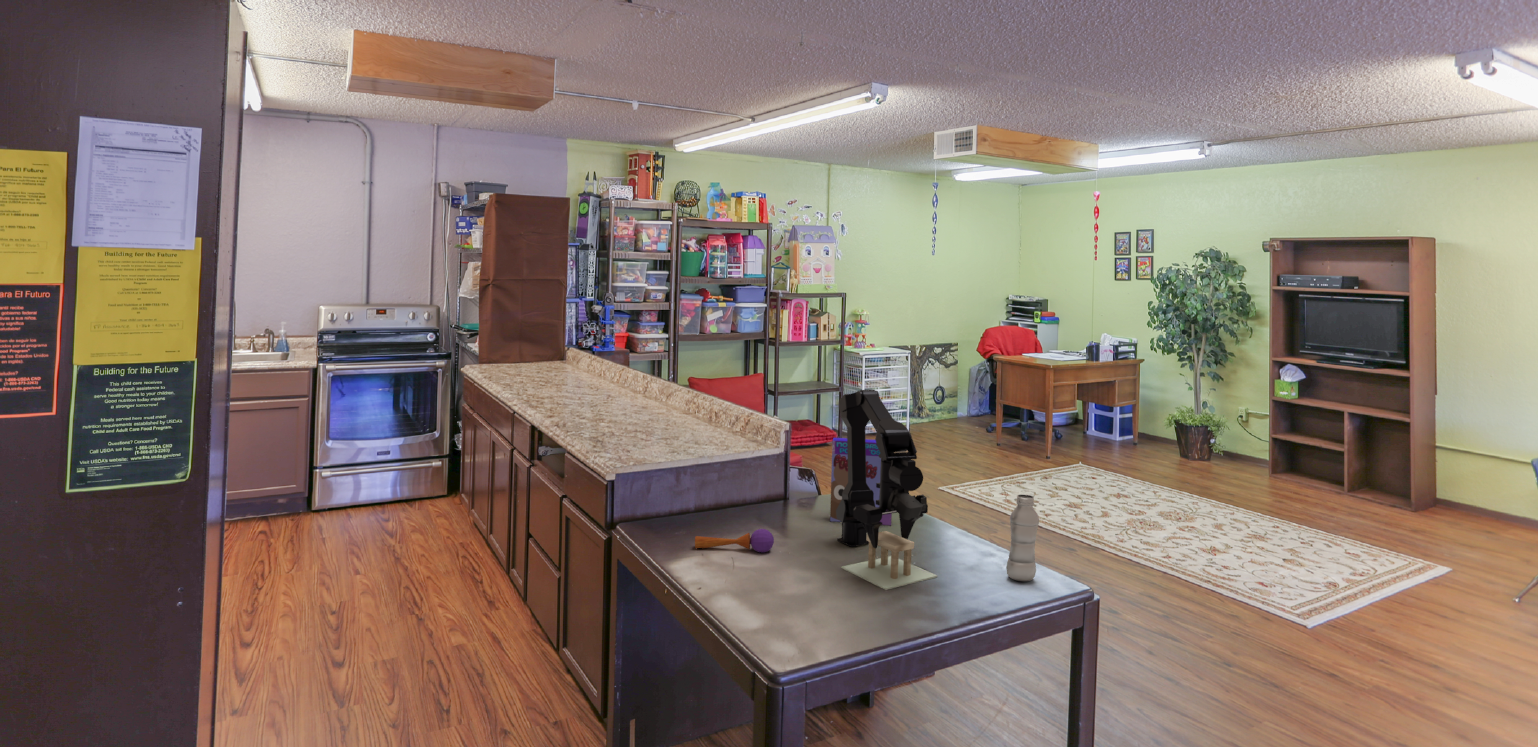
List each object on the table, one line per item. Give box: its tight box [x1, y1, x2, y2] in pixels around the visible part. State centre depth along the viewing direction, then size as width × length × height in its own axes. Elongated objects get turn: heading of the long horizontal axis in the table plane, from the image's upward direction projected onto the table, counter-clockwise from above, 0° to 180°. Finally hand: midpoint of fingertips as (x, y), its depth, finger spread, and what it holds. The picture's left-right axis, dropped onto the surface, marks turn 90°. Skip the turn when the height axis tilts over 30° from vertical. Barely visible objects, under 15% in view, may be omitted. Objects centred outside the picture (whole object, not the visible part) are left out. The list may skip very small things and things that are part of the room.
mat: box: [841, 555, 938, 591], centre depth 191 cm, size 16×16×1 cm
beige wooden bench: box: [866, 530, 915, 579], centre depth 190 cm, size 6×10×8 cm, turn 33°
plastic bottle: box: [1005, 493, 1040, 582], centre depth 187 cm, size 6×7×20 cm
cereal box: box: [829, 437, 893, 527], centre depth 231 cm, size 17×5×24 cm, turn 81°
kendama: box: [694, 528, 775, 553], centre depth 205 cm, size 6×6×20 cm
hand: (889, 544), depth 190 cm, fingers open, 9 cm apart
